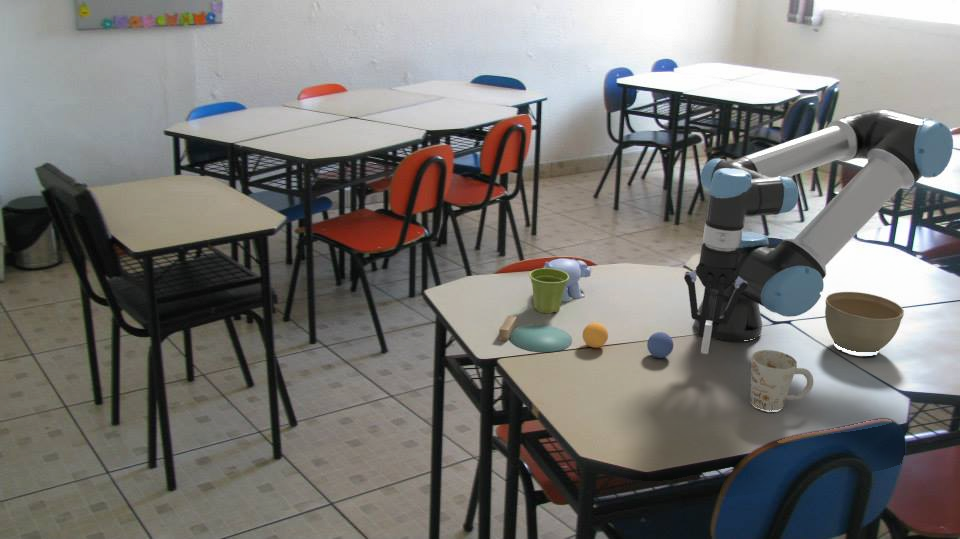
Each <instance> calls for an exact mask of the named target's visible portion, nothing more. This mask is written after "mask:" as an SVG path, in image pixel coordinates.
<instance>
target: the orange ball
mask: <svg viewBox="0 0 960 539" xmlns="http://www.w3.org/2000/svg"><path fill="white" fill-rule="evenodd" d="M608 338H609V332H608V330H607V328H606V326H605V325H604V324H602V323H601V322H595V321H594V322H591V323H588V324H587V325H586V326H585V327H584V329H583V331H582V339H583V342H584V343H585V344H586V345H587V346H588V347H590V348H592V349H597V348H601V347H603V346H604V345H606V343H607V341H608Z"/></svg>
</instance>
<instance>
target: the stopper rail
mask: <svg viewBox="0 0 960 539" xmlns="http://www.w3.org/2000/svg"><path fill="white" fill-rule="evenodd" d="M515 328H517V316H513V315H507V317H506V318H505V319H504V322H503V323H502V325H501V326H500V328H499V330H498V331H499V333H498V340H499V341H500V340H501V341H506V342H508V341H510V339H509V337H510V336H511V334H512V332H513V330H514V329H515Z"/></svg>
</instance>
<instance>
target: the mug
mask: <svg viewBox="0 0 960 539" xmlns="http://www.w3.org/2000/svg"><path fill="white" fill-rule="evenodd" d="M750 361H751V362H750V363H751V364H750V365H751V367H750V368H751V369H750V404H751V403H752V404H753V405H754V406H755V407H757V408H760V409H764V410H769V411H770V410H771V411H772V410H779V409H781V408H782V407H784V405H785V402H786V400H789V401H790V400H791V401H795V400H800V399H803V398H804V397H805V396H807V395H808V394H809V393H810V391H811V390H812V388H813V386H814V376H813V374H812V373H811V371H810V370H809V369H807V368H803V367H798V362H797V360H796V359H795V357H793V356H791V355H790V354H787V353H784V352H781V351H778V350H771V349H768V350H767V349H764V350H763V349H761V350H757V351H754V352H753V353H752V354H751V360H750ZM795 375H802V376H804V377H805V379H806V385H805V387H804V388H803V390H801V391H800V392H799V393H798V394H796V395H795V394H794V395H793V394H788V393H789V390H790V387H791V385H792V382H793V379H794V377H795ZM782 409H783V408H782Z"/></svg>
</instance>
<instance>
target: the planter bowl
mask: <svg viewBox="0 0 960 539" xmlns="http://www.w3.org/2000/svg"><path fill="white" fill-rule="evenodd" d="M903 308H904V307H902V306H901V305H899V303H897V302H895V301H893V300H891V299H888V298H886V297H883V296H881V295H880V296H879V295H877V294H876V295H875V294H872V293H867V292H866V293H865V292H860V291H859V292H858V291H839V292H833V293H831V294H828V295H827V296H826V297H825V310H824V311H825V312H824V314H825V323H826V327H827V331H828V333H829V335H830V337H831V338H832V341H834V343H835V344H837V345H838V346H840V347H842V348H845V349H847V350H851V351H856V352H876V351H879V350H880V351H881V349H883V348H884V347H886V346H887V345H888V344H889V343H890V341H891V340H892V339H893V338H894V337H895V336H896V334H897V332H898V331H899V328H900V325H901V321H902V319H903V317H904V314H905V310H904V309H903ZM880 351H879V352H880Z"/></svg>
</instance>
